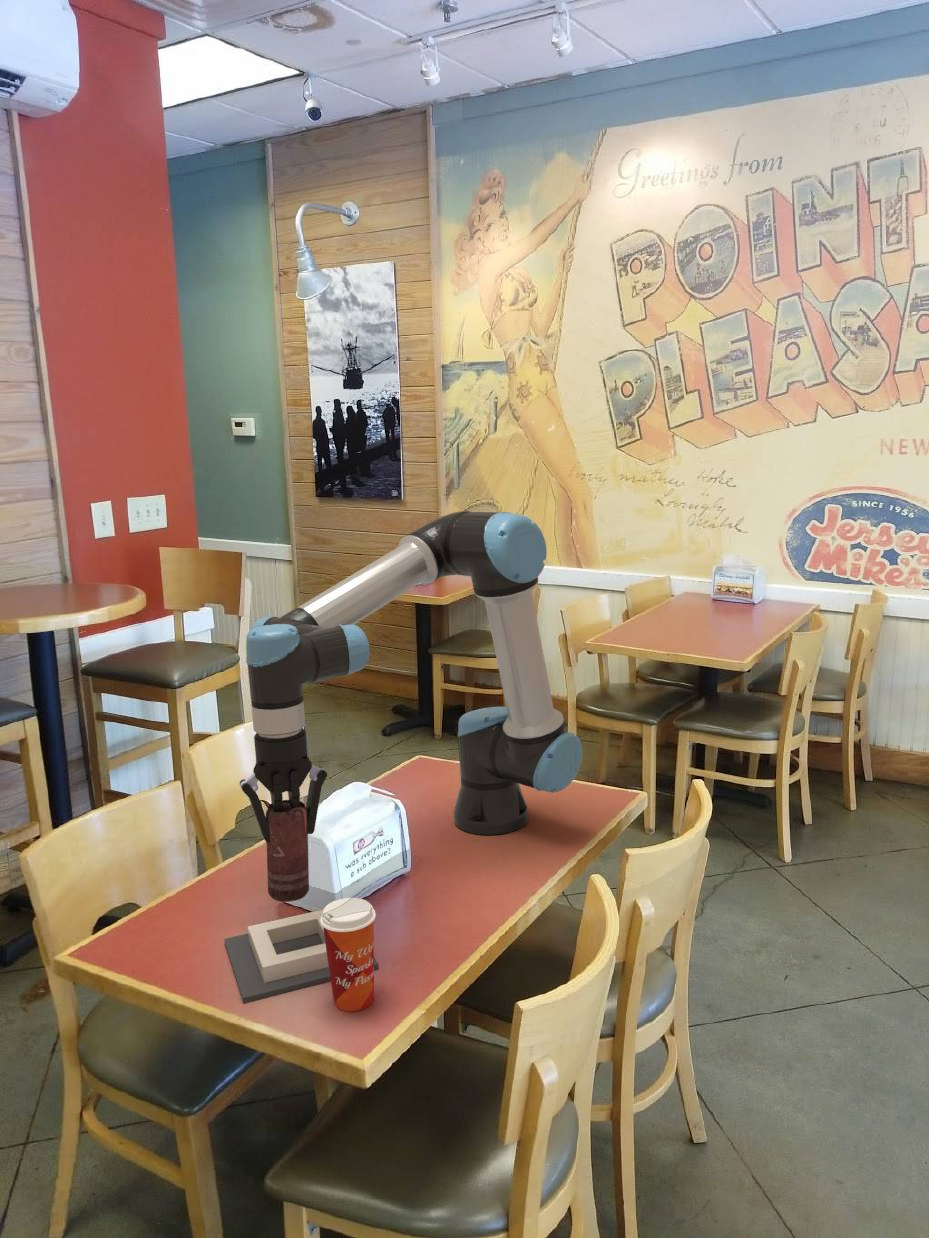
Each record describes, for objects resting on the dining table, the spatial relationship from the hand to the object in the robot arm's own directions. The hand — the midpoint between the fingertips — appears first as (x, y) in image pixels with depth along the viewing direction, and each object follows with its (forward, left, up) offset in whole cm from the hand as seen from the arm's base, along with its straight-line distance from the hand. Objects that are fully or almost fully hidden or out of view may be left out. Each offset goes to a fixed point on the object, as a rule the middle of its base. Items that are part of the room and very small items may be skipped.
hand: (292, 879), depth 146 cm
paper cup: (-5, +15, -13) cm, 20 cm away
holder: (0, 0, -12) cm, 12 cm away
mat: (0, 0, -13) cm, 13 cm away
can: (+1, 0, -2) cm, 2 cm away
